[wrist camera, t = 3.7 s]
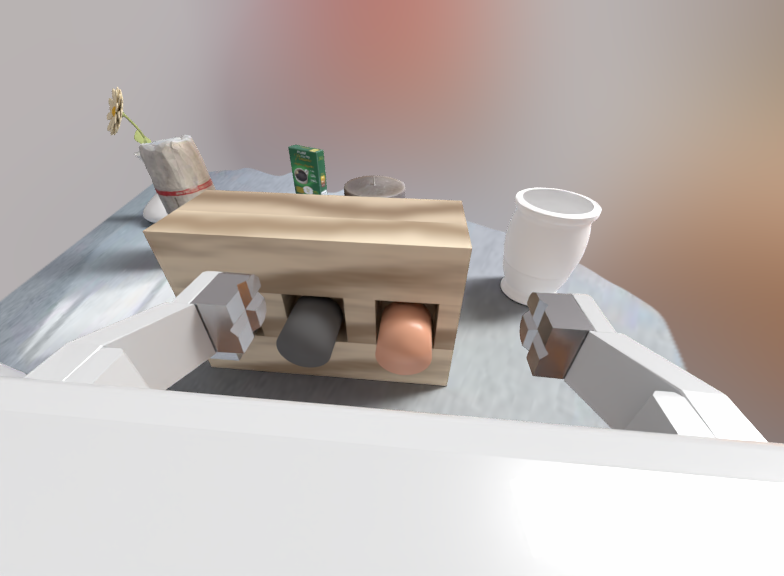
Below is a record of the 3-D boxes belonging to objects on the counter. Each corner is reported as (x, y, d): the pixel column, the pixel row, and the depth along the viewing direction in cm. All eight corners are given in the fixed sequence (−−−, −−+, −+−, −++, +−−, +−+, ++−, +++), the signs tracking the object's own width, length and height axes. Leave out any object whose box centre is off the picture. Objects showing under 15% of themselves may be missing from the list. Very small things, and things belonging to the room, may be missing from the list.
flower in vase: (152, 211, 74) (92, 83, 59) (206, 204, 77) (162, 82, 62) (140, 235, 64) (64, 90, 49) (202, 227, 68) (150, 88, 53)
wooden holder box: (446, 385, 36) (472, 248, 26) (211, 366, 38) (142, 231, 27) (443, 325, 44) (461, 200, 34) (248, 312, 46) (206, 189, 35)
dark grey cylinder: (333, 369, 30) (327, 331, 27) (282, 365, 30) (270, 327, 27) (344, 331, 34) (340, 295, 31) (299, 328, 34) (290, 292, 31)
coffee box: (330, 205, 78) (324, 148, 70) (323, 209, 75) (315, 151, 68) (304, 199, 80) (295, 143, 73) (296, 203, 78) (286, 146, 70)
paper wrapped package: (192, 271, 54) (137, 146, 42) (182, 252, 59) (130, 135, 47) (243, 256, 59) (205, 138, 46) (229, 238, 64) (193, 128, 52)
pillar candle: (340, 254, 59) (332, 173, 50) (386, 241, 63) (386, 163, 54) (364, 281, 53) (360, 193, 44) (413, 265, 57) (418, 181, 48)
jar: (578, 301, 49) (621, 209, 40) (526, 320, 45) (560, 223, 36) (527, 267, 57) (554, 182, 48) (480, 280, 53) (499, 192, 44)
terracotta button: (429, 377, 30) (434, 339, 27) (375, 372, 30) (374, 334, 27) (429, 337, 34) (433, 301, 30) (382, 334, 34) (381, 297, 31)
